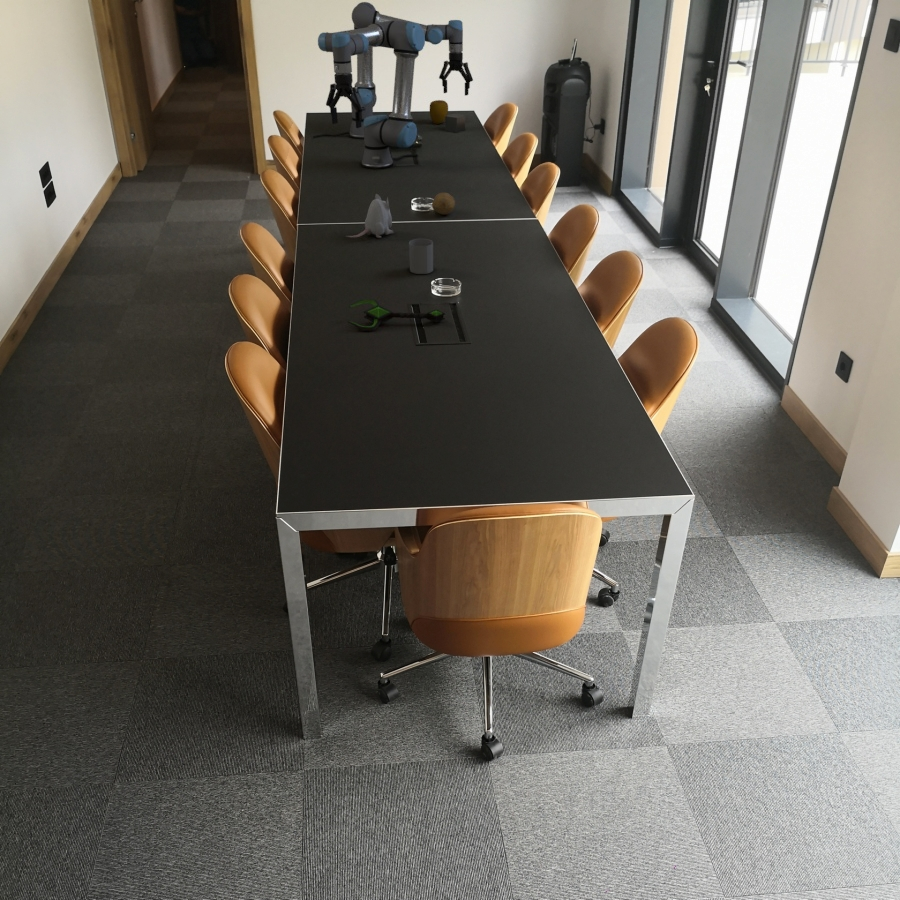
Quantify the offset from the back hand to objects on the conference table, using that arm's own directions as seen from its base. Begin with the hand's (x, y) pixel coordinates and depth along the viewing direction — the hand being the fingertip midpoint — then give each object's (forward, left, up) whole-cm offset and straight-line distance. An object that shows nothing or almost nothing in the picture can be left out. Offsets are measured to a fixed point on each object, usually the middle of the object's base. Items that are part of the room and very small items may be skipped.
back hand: (455, 94), depth 479 cm
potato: (+46, -143, -20) cm, 152 cm away
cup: (+62, -207, -20) cm, 217 cm away
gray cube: (-1, +2, -20) cm, 20 cm away
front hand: (-6, -124, +8) cm, 124 cm away
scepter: (+71, -252, -20) cm, 262 cm away
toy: (+30, -182, -20) cm, 186 cm away
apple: (-16, +15, -20) cm, 30 cm away
